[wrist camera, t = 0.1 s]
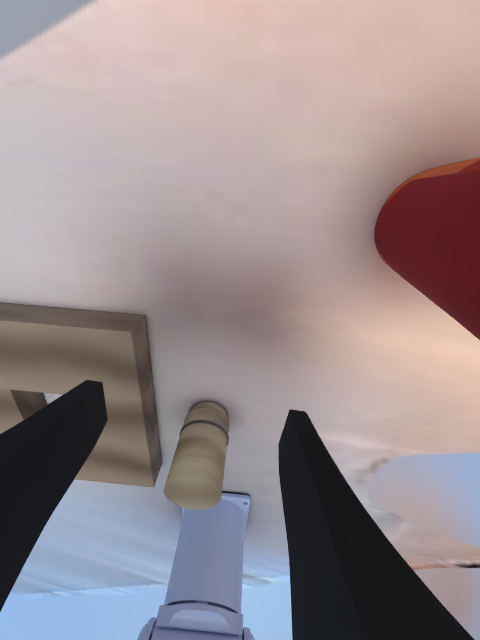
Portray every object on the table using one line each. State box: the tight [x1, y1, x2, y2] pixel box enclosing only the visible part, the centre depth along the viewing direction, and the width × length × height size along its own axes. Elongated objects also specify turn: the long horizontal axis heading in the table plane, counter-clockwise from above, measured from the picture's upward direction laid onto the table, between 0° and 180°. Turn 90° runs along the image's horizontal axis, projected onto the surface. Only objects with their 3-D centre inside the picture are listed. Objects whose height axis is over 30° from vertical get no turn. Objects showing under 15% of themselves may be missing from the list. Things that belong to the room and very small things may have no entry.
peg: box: [164, 402, 229, 510], centre depth 21 cm, size 4×4×7 cm
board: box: [0, 303, 162, 487], centre depth 23 cm, size 18×16×2 cm
